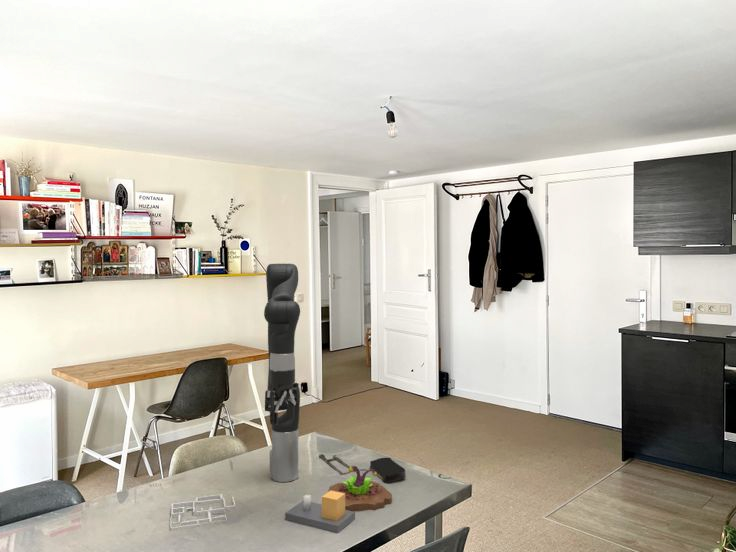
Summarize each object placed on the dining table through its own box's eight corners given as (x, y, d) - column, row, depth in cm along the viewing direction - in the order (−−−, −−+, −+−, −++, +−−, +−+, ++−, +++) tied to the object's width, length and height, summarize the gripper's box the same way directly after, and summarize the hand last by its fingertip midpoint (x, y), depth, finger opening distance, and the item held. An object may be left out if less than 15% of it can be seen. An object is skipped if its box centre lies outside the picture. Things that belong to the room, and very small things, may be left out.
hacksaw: (317, 457, 220) (317, 453, 220) (341, 453, 225) (341, 449, 225) (344, 478, 199) (344, 474, 199) (370, 473, 204) (370, 469, 204)
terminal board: (285, 519, 166) (285, 499, 166) (303, 506, 175) (303, 487, 175) (338, 533, 158) (338, 511, 158) (354, 518, 167) (355, 498, 167)
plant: (318, 492, 187) (318, 459, 186) (372, 483, 194) (372, 451, 194) (340, 517, 168) (340, 480, 168) (398, 506, 176) (399, 471, 176)
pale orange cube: (321, 517, 164) (321, 496, 163) (330, 510, 168) (330, 490, 168) (336, 520, 161) (336, 499, 161) (345, 513, 166) (345, 493, 166)
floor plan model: (230, 490, 189) (230, 484, 189) (237, 522, 165) (237, 516, 165) (171, 497, 183) (171, 491, 183) (170, 532, 159) (170, 525, 159)
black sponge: (407, 481, 196) (407, 471, 196) (385, 485, 193) (385, 474, 193) (388, 466, 211) (388, 456, 211) (367, 469, 208) (367, 459, 208)
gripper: (285, 362, 177) (286, 413, 178) (257, 370, 165) (257, 425, 165) (306, 364, 174) (306, 416, 174) (278, 372, 161) (278, 429, 162)
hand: (282, 421), depth 170 cm, fingers open, 8 cm apart
